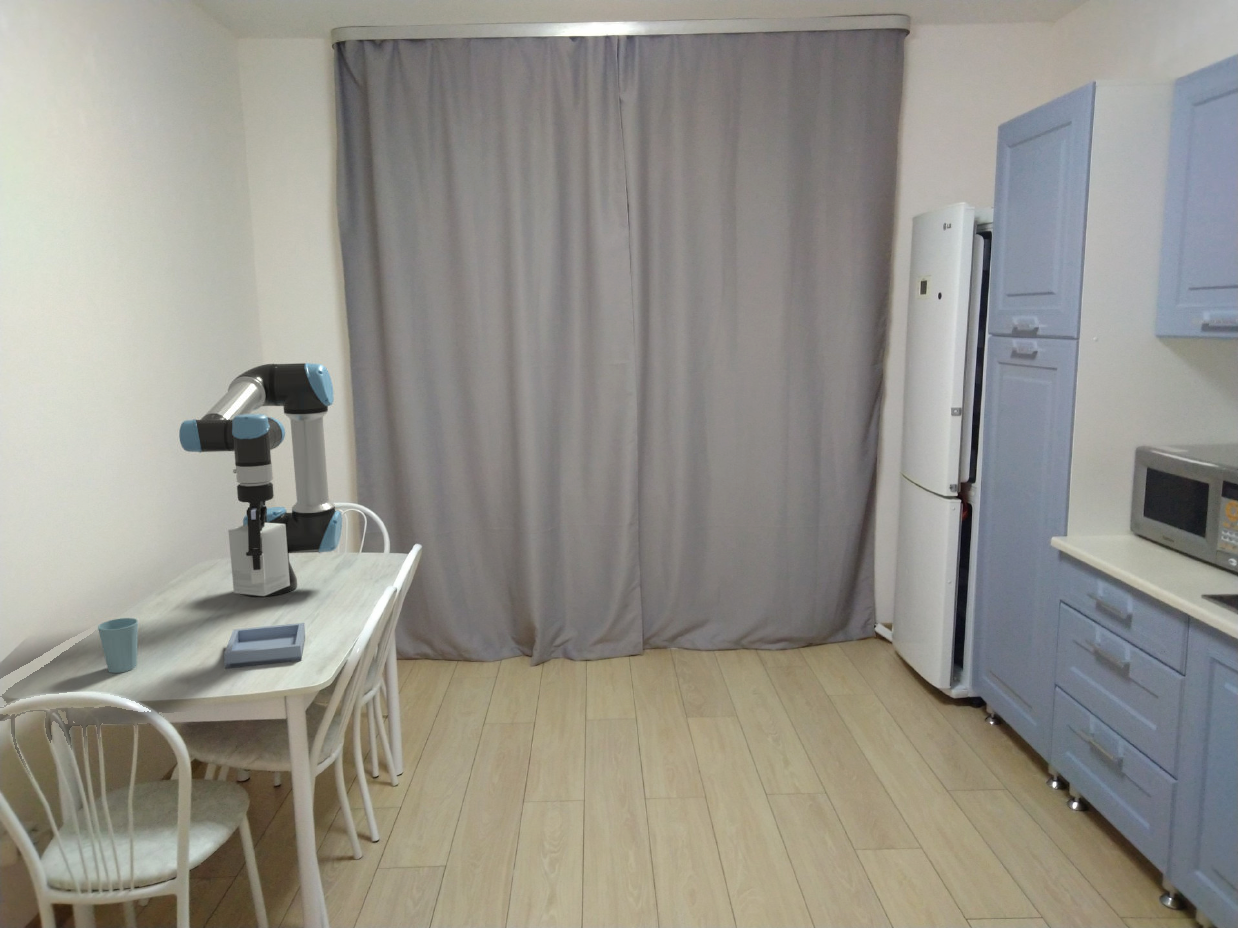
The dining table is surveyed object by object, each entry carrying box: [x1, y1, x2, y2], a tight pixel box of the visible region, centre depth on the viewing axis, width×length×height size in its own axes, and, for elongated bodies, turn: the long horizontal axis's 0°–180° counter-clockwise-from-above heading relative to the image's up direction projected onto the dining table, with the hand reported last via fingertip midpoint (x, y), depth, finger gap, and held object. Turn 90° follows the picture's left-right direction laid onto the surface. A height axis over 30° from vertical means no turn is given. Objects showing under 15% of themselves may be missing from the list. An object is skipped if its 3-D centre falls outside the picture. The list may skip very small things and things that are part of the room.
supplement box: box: [227, 523, 290, 597], centre depth 201 cm, size 9×9×15 cm
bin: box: [223, 622, 306, 670], centre depth 204 cm, size 16×16×4 cm
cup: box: [97, 617, 139, 674], centre depth 194 cm, size 8×8×10 cm
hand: (261, 575), depth 201 cm, fingers closed on supplement box, 12 cm apart
